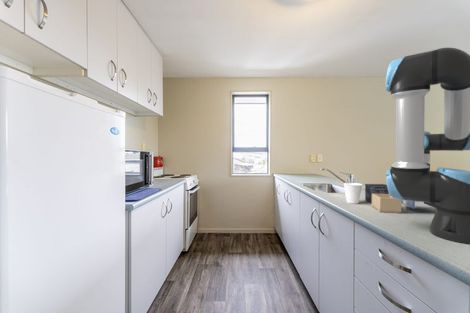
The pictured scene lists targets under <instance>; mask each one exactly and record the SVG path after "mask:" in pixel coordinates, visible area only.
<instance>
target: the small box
mask: <svg viewBox="0 0 470 313" xmlns="http://www.w3.org/2000/svg"><path fill="white" fill-rule="evenodd" d="M364 188H365V189H364V193H365V194H364V198H365V199H364V200H365V202H366V203H369V204H372V194H389V191H388V188H387V184H384V183H364Z"/></svg>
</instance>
